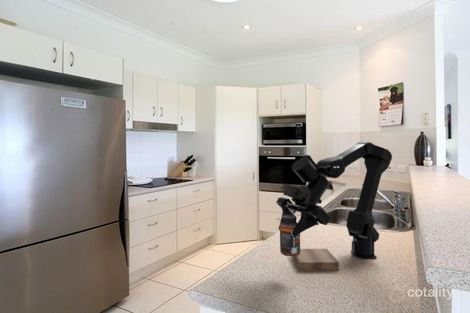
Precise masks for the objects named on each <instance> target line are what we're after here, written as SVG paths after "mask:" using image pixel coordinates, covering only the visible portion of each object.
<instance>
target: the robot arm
mask: <svg viewBox="0 0 470 313" xmlns="http://www.w3.org/2000/svg"><path fill="white" fill-rule="evenodd" d="M359 159H363V160H364V163H363V164H364V166H365V170H366V172H365V176H364V180H363V183H362V188H361V190H360V194H359V198H358V202H357V206H356V208H355V209H354V210H349V211H348V214H347V218H346V220H345V221H346V225H345V226H346V228H347V231H348V235H349V236H350V237H352V241H351V250H350V252H351V253H352V254H353V255H354V256H355V257H356V258H357V259H377V258H378V257H377V255H375V243H376V242H377V241H379V238H380V233H379V232H378V231H377V229H376V228H375V220H374V215H373V213H372V212H373V208H374V205H375V202H376V201H375V200H376V197H377V194H378V189H379V186H380V181H381V178H382V175H383V173H384V172H385V171H386V170H388V169H389V167H390V164H391V162H392V159H393V155H392V153H391V151H390V150H389V149H388V148H385V147H382V146H379V145H376V144H374V143H372V142H370V141H359V142H356V144H354V145H353V146H351V147H349V148H348V149H346V150H344V151H343V152H341V153H339V154H337V155H336V156H331V157H326V158H324V159H320V160H319V161H318V162H317V163H316V162H315V161H314V160H313V158H312V156H311V155H309V154H304V156H303V157H300V158H299V159H298V160H296V161H295V162H294V163H292V167H291V168H292V171H293V172H294V173H295V174H296V175H297V176H298V178H300V180H301V181H302V182H303V183H307V184H306V185H299V187H298V186H294V185H291V184H286V185H285V188H284V191H283V193H282V195H284V196H287V197H290V198H291V200H290V198H287V197H282V196H281V197H278V198H277V200H276V201H275V202H276V204H277V205H278V206H279V207H280V208H281V210H282V211H281V212H282V213H281V218H280V223H279V225H278V230H279V231H280V224H281V223H282V222H283V216H284V215H294V216H296V215H295V214H296V212H297V213H300V218H299V220H298V222H297V225H296V227H295V228H294V230H293V232H292V235H293V236H296V235H298V234H300V235H301V233H303V232H305V231H307V230H309V229H310V228H312V227H315V226H319V225H323V226H327V225H328V224H329V222H330V218H331V217H330V214H329V213H328V212H326V210H325V209H324V208H323V207H322V205H321V204H322V202H323V200H322V197H323V195H324V193H326V191H327V190H330V191H333V190H334V186H333V182H332V181H330V180H328V179H337V178H338V179H339V177H341V175H343V174H344V172H346V168H347V167H348V166H350V165H352V164H353V163H354V162H357V161H359ZM318 204H319V205H318Z"/></svg>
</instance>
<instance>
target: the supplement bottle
mask: <svg viewBox="0 0 470 313" xmlns="http://www.w3.org/2000/svg"><path fill="white" fill-rule="evenodd" d="M294 215H295V214H294ZM294 215H284V216H283V222H282V223H281V224H280V223H279V225H280V230H279V247H280V248H279V249H280V251H279V252H280V253H281V254H282V255H283V256H286V257H293V256H297V255H299V254H300V249H301V233H300V234H298V235H296V236H293V235H292V232H293V230H294V228H295V227H296V225H297V223H298V222H297V216H296V215H295V216H294Z"/></svg>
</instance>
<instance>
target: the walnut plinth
mask: <svg viewBox="0 0 470 313" xmlns="http://www.w3.org/2000/svg"><path fill="white" fill-rule="evenodd" d="M292 257H293V259H294V260H295V263H296V264H297V266H298V268H299V270H300V271H339V270H340V262H339V261H338V259H336V257H335V256H334V255H333V254H332V252H330V250H329V249H328V248H300V254H299V255H297V256H292Z"/></svg>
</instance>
